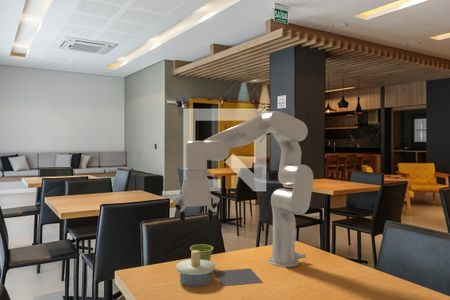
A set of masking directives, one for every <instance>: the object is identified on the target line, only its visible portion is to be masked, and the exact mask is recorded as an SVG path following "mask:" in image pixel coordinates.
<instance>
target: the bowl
mask: <svg viewBox="0 0 450 300" xmlns="http://www.w3.org/2000/svg"><path fill="white" fill-rule="evenodd" d="M211 281H212V272H210V273H207V274H202V275H187V274H182V273H180V272H179V282H180V284H181V285H184V286H187V287H202V286H205V285H208V284H209V283H210V282H211Z"/></svg>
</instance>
